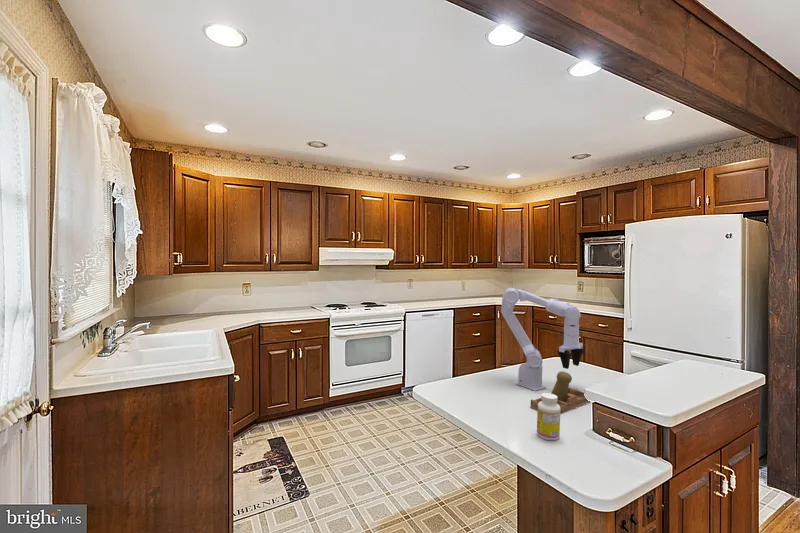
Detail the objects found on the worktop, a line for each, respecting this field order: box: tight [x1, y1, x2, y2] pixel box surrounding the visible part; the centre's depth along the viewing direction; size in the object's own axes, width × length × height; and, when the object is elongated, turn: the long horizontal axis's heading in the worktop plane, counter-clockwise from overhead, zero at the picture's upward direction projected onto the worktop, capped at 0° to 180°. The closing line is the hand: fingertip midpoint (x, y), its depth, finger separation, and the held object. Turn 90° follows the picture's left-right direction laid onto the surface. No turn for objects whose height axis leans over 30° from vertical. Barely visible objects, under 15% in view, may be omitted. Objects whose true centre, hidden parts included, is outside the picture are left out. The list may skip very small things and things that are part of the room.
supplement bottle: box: [536, 392, 561, 441], centre depth 114 cm, size 7×7×13 cm
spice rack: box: [530, 387, 591, 415], centre depth 139 cm, size 9×25×4 cm, turn 124°
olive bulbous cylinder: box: [550, 371, 573, 403], centre depth 139 cm, size 6×6×11 cm
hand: (570, 366), depth 154 cm, fingers open, 7 cm apart
